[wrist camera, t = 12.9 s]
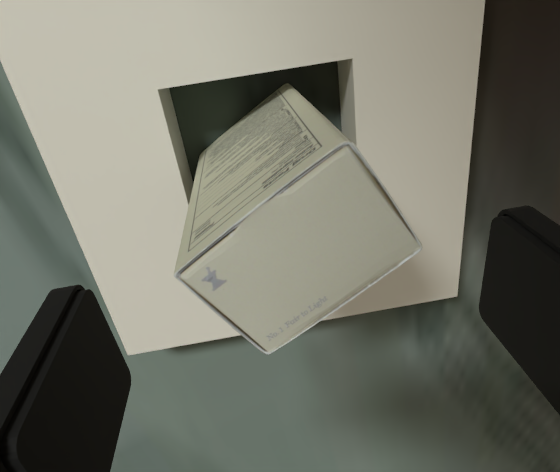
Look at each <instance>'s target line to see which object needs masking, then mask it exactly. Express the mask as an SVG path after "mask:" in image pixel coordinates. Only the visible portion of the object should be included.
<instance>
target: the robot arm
mask: <svg viewBox="0 0 560 472" xmlns="http://www.w3.org/2000/svg"><path fill="white" fill-rule="evenodd" d="M479 311H480V315H481V317H482V319H483V321H484V322H485V323H486V324H487V326H488V327H489V328H490V329H491V331H492V332H493V333H494V334H495V336H496V337H497V338H498V339H499V340H500V342H501V343H502V344H503V345H504V347H505V348H506V349H507V350H508V352H509V353H510V354H511V355H512V357H513V358H514V359H515V360H516V362H517V363H518V364H519V365H520V366H521V368H522V369H523V370H524V371H525V373H526V374H527V375H528V376H529V378H530V379H531V380H532V381H533V383H534V384H535V385H536V386H537V388H538V389H539V390H540V391H541V392H542V394H543V395H544V396H545V397H546V399H547V400H548V401H549V402H550V404H551V405H552V406H553V407H554V409H555V410H556V411H557V412H558V414H559V415H560V226H559V225H558V224H556V223H555V222H553V221H552V220H550V219H549V218H547V217H546V216H544V215H543V214H541V213H540V212H539V211H537V210H536V209H534V208H533V207H530V206H522V207H516V208H511V209H505V210H502V211H500V213H499V214H498V217H496V218H494V219H493V220H492V223H491V229H490V236H489V242H488V249H487V256H486V262H485V269H484V276H483V282H482V289H481V296H480V302H479ZM130 386H131V375H130V371H129V368H128V366H127V364H126V362H125V360H124V358H123V356H122V353H121V351H120V349H119V347H118V345H117V343H116V340H115V338H114V336H113V334H112V332H111V330H110V327H109V325H108V323H107V321H106V319H105V317H104V315H103V312H102V310H101V308H100V306H99V304H98V302H97V299H96V297H95V295H94V293H93V292H92V291H91V290H89V289H88V290H85V289H84V288H83V287H82V286H81V285H74V286H69V287H63V288H57V289H53V290H51V291H50V292H49V294H48V296H47V297H46V299H45V301H44V302H43V304H42V306H41V307H40V309H39V311H38V312H37V314H36V316H35V317H34V319H33V321H32V322H31V324H30V326H29V327H28V329H27V331H26V332H25V334H24V336H23V338H22V339H21V341H20V343H19V344H18V346H17V348H16V349H15V351H14V353H13V354H12V356H11V358H10V359H9V361H8V363H7V364H6V366H5V368H4V369H3V371H2V373H1V374H0V472H110V469H111V465H112V461H113V457H114V453H115V449H116V445H117V440H118V436H119V432H120V428H121V424H122V420H123V416H124V411H125V407H126V403H127V399H128V395H129V391H130Z"/></svg>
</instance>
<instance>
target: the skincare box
mask: <svg viewBox="0 0 560 472" xmlns="http://www.w3.org/2000/svg"><path fill="white" fill-rule="evenodd" d="M422 248H423V247H422V243H421V242H420V240H419V239H418V237H417V236H416V234H415V233H414V231H413V230H412V228H411V227H410V225H409V223H408V222H407V220H406V219H405V217H404V216H403V214H402V212H401V211H400V209H399V208H398V206H397V205H396V203H395V202H394V200H393V199H392V197H391V196H390V194H389V193H388V191H387V189H386V188H385V187H384V185H383V184H382V182H381V181H380V179H379V178H378V176H377V175H376V173H375V172H374V171H373V169H372V168H371V166H370V165H369V163H368V162H367V160H366V159H365V158H364V156H363V155H362V154H361V152H360V151H359V149H358V148H357V147H356V145H355V144H354V143H353V142H352V141H351V140H350V139H349V138H348V137H346V136H345V135H344V134H343V133H342V132H341V131H340V130H339V129H337V128H336V127H335V126H334V125H333V124H332V123H331V122H330V121H329V120H328V119H327V118H326V117H325V116H323V115H322V114H321V113H320V112H319V111H318V110H317V109H316V108H315V107H314V106H313V105H312V104H311V103H310V102H308V101H307V100H306V99H305V98H304V97H303V96H302V95H301V94H300V93H299V92H298V91H297V90H296V89H294V88H293V87H292V86H291V85H290V84H284V85H283V86H281V87H280V88H279V89H277V90H276V91H275V92H274V93H272V94H271V95H270V96H269V97H267V98H266V99H265V100H264V101H262V102H261V103H260V104H259V105H257V106H256V107H255V108H254V109H253V110H251V111H250V112H249V113H248V114H246V115H245V116H244V117H243V118H242V119H240V120H239V121H238V122H237V123H236V124H234V125H233V126H232V127H231V128H229V129H228V130H227V131H226V132H225V133H224V134H223V135H221V136H220V137H219V138H218V139H217V140H216V141H214V142H213V143H212V144H211V145H210V146H209V147H208V148H206V149H205V150H204V151H203V152H202V153H201V154H200V156H199V161H198V165H197V170H196V175H195V179H194V184H193V188H192V193H191V197H190V203H189V207H188V211H187V216H186V220H185V225H184V230H183V235H182V239H181V244H180V248H179V252H178V257H177V261H176V266H175V270H174V277H175V278H176V279H177V280H178V281H180V282H181V283H182V284H183V285H184V286H186V287H187V288H188V289H189V290H190V291H191V292H192V293H193V294H194V295H195V296H196V297H198V298H199V299H200V300H201V301H202V302H203V303H204V304H205V305H207V306H208V307H209V308H210V309H211V310H212V311H213V312H215V313H216V314H217V315H218V316H219V317H221V318H222V319H223V320H224V321H225V322H226V323H228V324H229V325H230V326H231V327H232V328H233V329H234V330H235V331H237V332H238V333H239V334H240V335H241V336H243V337H244V338H245V339H246V340H248V341H249V342H250V343H251V344H253V345H254V346H255V347H256V348H258V349H259V350H260V351H261V352H262V353H264V354H270V353H272V352H274V351H276V350H277V349H279V348H280V347H282V346H284V345H285V344H287V343H288V342H290V341H291V340H293V339H295V338H296V337H298V336H299V335H301V334H302V333H303V332H305V331H306V330H308V329H310V328H311V327H313V326H314V325H316V324H317V323H318V322H320V321H321V320H323V319H324V318H326V317H327V316H329V315H330V314H332V313H333V312H335V311H336V310H338V309H339V308H340V307H342V306H343V305H345V304H346V303H347V302H349V301H351V300H352V299H354V298H356V296H357V295H359V294H361V293H362V292H364V291H365V290H366V289H368V288H369V287H371V286H372V285H374V284H375V283H377V282H378V281H379V280H381V279H382V278H383V277H385V276H386V275H388V274H389V273H391V272H392V271H394V270H395V269H396V268H398V267H399V266H401V265H402V264H404V263H405V262H406V261H408V260H409V259H411V258H412V257H413V256H414V255H416V254H418V253H419V252H420V251H421V250H422Z"/></svg>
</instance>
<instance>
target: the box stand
mask: <svg viewBox="0 0 560 472" xmlns="http://www.w3.org/2000/svg"><path fill="white" fill-rule="evenodd" d="M484 7H485V0H0V61H1V63H2V65H3V68H4V70H5V72H6V75H7V77H8V79H9V82H10V84H11V86H12V88H13V91H14V93H15V95H16V98H17V100H18V102H19V105H20V107H21V109H22V112H23V114H24V116H25V119H26V121H27V123H28V125H29V128H30V130H31V132H32V135H33V137H34V139H35V142H36V144H37V146H38V149H39V151H40V153H41V155H42V158H43V160H44V162H45V165H46V167H47V169H48V172H49V174H50V176H51V179H52V181H53V183H54V186H55V188H56V190H57V192H58V195H59V197H60V199H61V202H62V204H63V206H64V209H65V211H66V213H67V216H68V218H69V220H70V223H71V225H72V227H73V229H74V232H75V234H76V236H77V239H78V241H79V243H80V246H81V248H82V250H83V253H84V255H85V257H86V259H87V262H88V264H89V266H90V269H91V271H92V273H93V276H94V278H95V280H96V283H97V285H98V287H99V290H100V292H101V294H102V296H103V299H104V301H105V303H106V306H107V308H108V310H109V313H110V315H111V317H112V320H113V322H114V324H115V327H116V329H117V331H118V333H119V336H120V338H121V340H122V343H123V345H124V347H125V350H126V352H127V354H128V355H133V354H138V353H144V352H149V351H155V350H161V349H166V348H172V347H177V346H183V345H189V344H194V343H200V342H205V341H211V340H217V339H222V338H228V337H233V336H239V335H240V334H239V333H238V332H237V331H235V330H234V329H233V328H232V327H231V326H230V325H229V324H228V323H226V322H225V321H224V320H223V319H222V318H221V317H219V316H218V315H217V314H216V313H215V312H213V311H212V310H211V309H210V308H209V307H208V306H207V305H205V304H204V303H203V302H202V301H201V300H200V299H199V298H198V297H196V296H195V295H194V294H193V293H192V292H191V291H190V290H189V289H188V288H187V287H186V286H184V285H183V284H182V283H181V282H180V281H178V280H177V279H176V278H175V277H174V270H175V266H176V261H177V257H178V252H179V248H180V244H181V239H182V235H183V230H184V225H185V220H186V216H187V211H188V207H189V203H190V197H191V193H192V188H193V180H192V176H191V172H190V168H189V164H188V161H187V157H186V153H185V149H184V145H183V141H182V137H181V133H180V129H179V125H178V121H177V117H176V113H175V110H174V106H173V102H172V98H171V94H170V90H169V88H171V87H177V86H183V85H189V84H196V83H202V82H208V81H214V80H221V79H227V78H233V77H239V76H246V75H252V74H258V73H264V72H271V71H277V70H283V69H289V68H296V67H302V66H308V65H314V64H321V63H327V62H333V61H337V63H338V79H339V95H340V111H341V127H342V133H343V134H344V135H345V136H346V137H348V138H349V139H350V140H351V141H352V142H353V143H354V144H355V145H356V147H357V148H358V149H359V151H360V152H361V154H362V155H363V156H364V158H365V159H366V160H367V162H368V163H369V165H370V166H371V168H372V169H373V171H374V172H375V173H376V175H377V176H378V178H379V179H380V181H381V182H382V184H383V185H384V187H385V188H386V189H387V191H388V193H389V194H390V196H391V197H392V199H393V200H394V202H395V203H396V205H397V206H398V208H399V209H400V211H401V212H402V214H403V216H404V217H405V219H406V220H407V222H408V223H409V225H410V227H411V228H412V230H413V231H414V233H415V234H416V236H417V237H418V239H419V240H420V242H421V243H422V247H423V248H422V250H421V251H420V252H419V253H418V254H416V255H414V256H413V257H412V258H411V259H409V260H408V261H406V262H405V263H404V264H402V265H401V266H399V267H398V268H396V269H395V270H394V271H392V272H391V273H389V274H388V275H386V276H385V277H383V278H382V279H381V280H379V281H378V282H377V283H375V284H374V285H372V286H371V287H369V288H368V289H366V290H365V291H364V292H362V293H361V294H359V295H357V296H356V298H354V299H352V300H351V301H349V302H347V303H346V304H345V305H343V306H342V307H340V308H339V309H338V310H336V311H335V312H333V313H332V314H330V315H329V316H327V317H326V318H324V319H323V320H329V319H334V318H340V317H345V316H351V315H357V314H362V313H368V312H373V311H379V310H385V309H390V308H396V307H401V306H407V305H413V304H418V303H424V302H429V301H435V300H441V299H446V298H452V297H457V295H458V284H459V273H460V263H461V252H462V241H463V231H464V220H465V209H466V199H467V188H468V177H469V167H470V156H471V145H472V135H473V124H474V113H475V103H476V92H477V81H478V71H479V60H480V50H481V39H482V28H483V18H484ZM323 320H321V321H323Z"/></svg>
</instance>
